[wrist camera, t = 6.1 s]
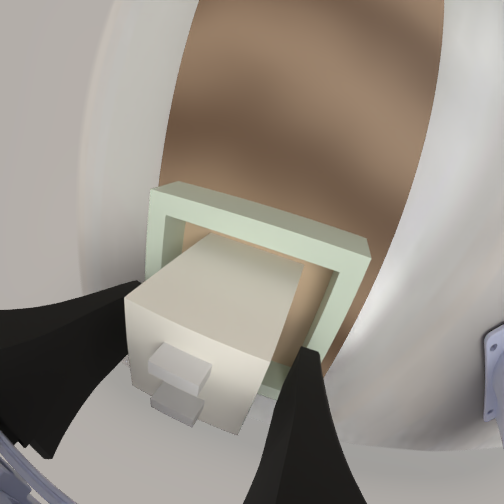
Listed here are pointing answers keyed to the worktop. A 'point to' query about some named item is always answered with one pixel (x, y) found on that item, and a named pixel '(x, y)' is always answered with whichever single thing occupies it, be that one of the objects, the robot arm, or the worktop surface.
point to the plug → (209, 329)
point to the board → (309, 112)
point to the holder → (276, 242)
